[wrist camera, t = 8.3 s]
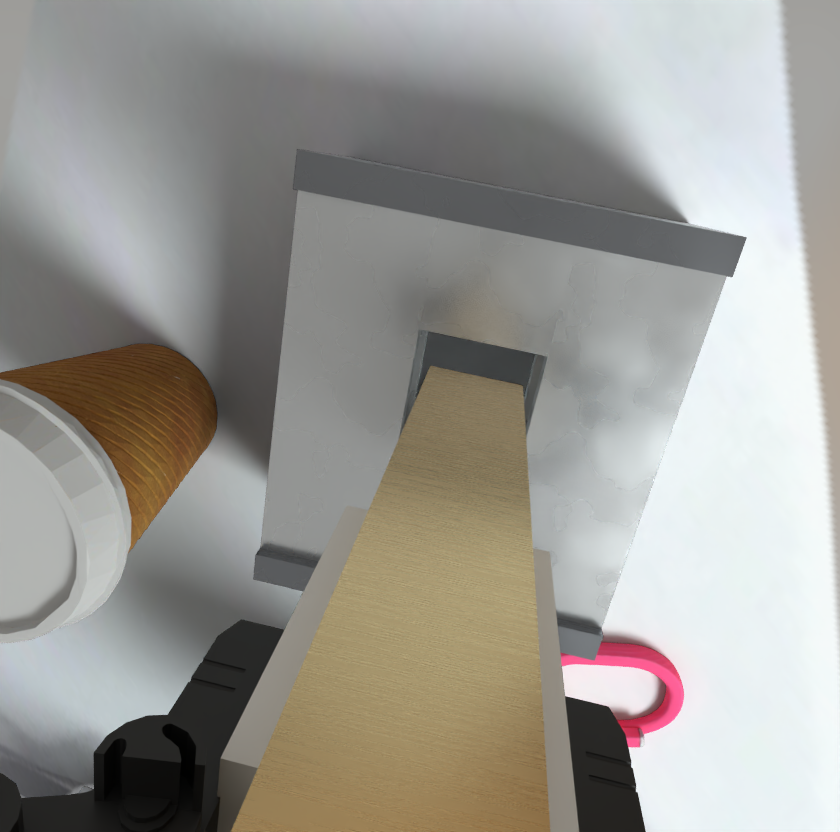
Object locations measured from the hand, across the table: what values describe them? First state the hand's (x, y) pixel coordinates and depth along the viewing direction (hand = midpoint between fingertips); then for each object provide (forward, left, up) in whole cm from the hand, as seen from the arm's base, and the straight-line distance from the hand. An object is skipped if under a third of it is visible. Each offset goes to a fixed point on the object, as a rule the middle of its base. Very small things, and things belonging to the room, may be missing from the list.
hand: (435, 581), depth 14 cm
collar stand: (0, 0, -15) cm, 15 cm away
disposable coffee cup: (-5, +15, -16) cm, 22 cm away
